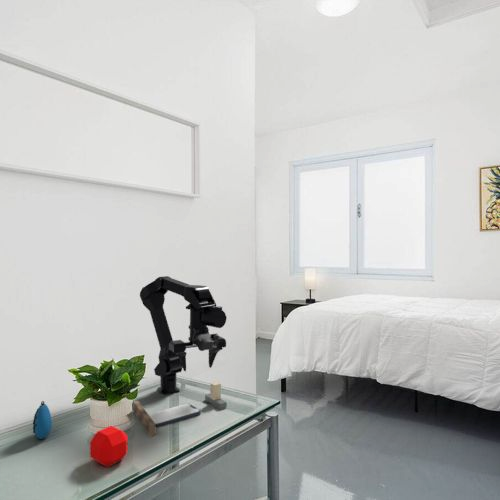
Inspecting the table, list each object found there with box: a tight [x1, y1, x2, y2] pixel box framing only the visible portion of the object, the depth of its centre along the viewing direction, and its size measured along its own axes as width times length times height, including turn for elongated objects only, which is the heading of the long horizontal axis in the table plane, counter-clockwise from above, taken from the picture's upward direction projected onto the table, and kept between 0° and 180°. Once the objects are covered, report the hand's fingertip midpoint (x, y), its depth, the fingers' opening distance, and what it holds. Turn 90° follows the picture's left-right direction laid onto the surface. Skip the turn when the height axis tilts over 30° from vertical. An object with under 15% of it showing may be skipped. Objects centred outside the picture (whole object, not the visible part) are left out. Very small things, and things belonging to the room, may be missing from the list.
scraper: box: [204, 381, 228, 410], centre depth 145 cm, size 10×2×7 cm, turn 34°
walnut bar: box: [133, 400, 156, 437], centre depth 130 cm, size 20×2×3 cm, turn 28°
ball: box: [89, 425, 129, 468], centre depth 107 cm, size 8×8×8 cm
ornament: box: [32, 400, 53, 440], centre depth 120 cm, size 8×5×10 cm, turn 18°
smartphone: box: [148, 403, 201, 428], centre depth 134 cm, size 9×2×16 cm
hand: (197, 369), depth 147 cm, fingers open, 9 cm apart
